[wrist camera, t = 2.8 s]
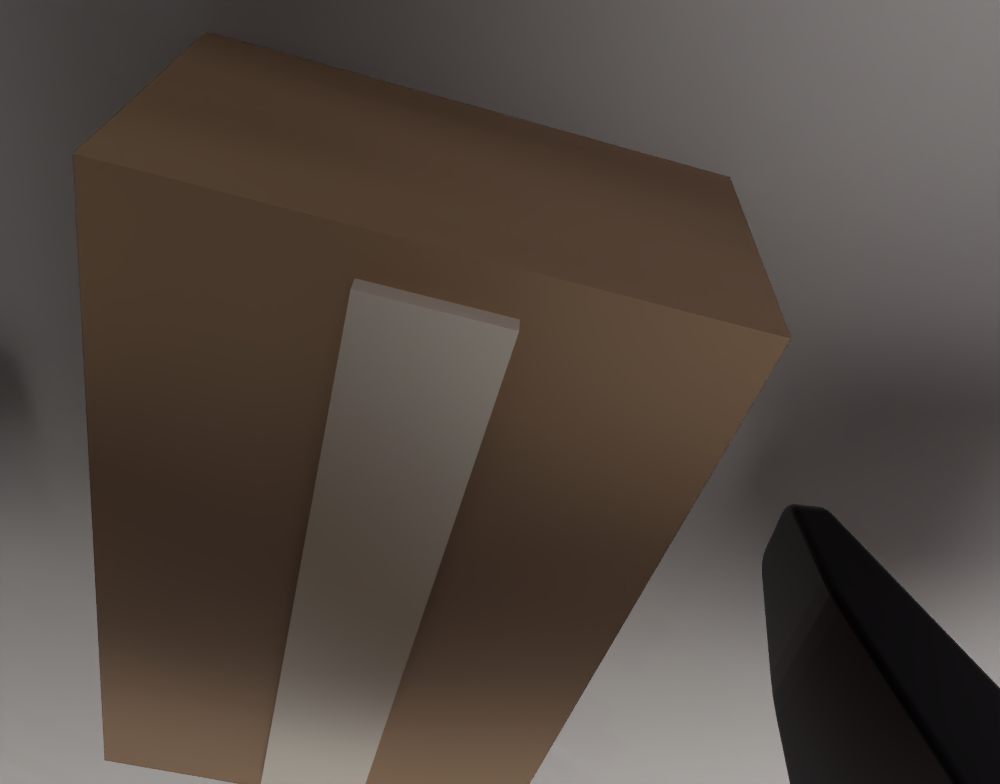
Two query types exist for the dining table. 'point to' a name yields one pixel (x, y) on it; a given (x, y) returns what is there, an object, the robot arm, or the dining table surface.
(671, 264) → the taped shipping box
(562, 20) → the dining table surface
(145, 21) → the dining table surface
